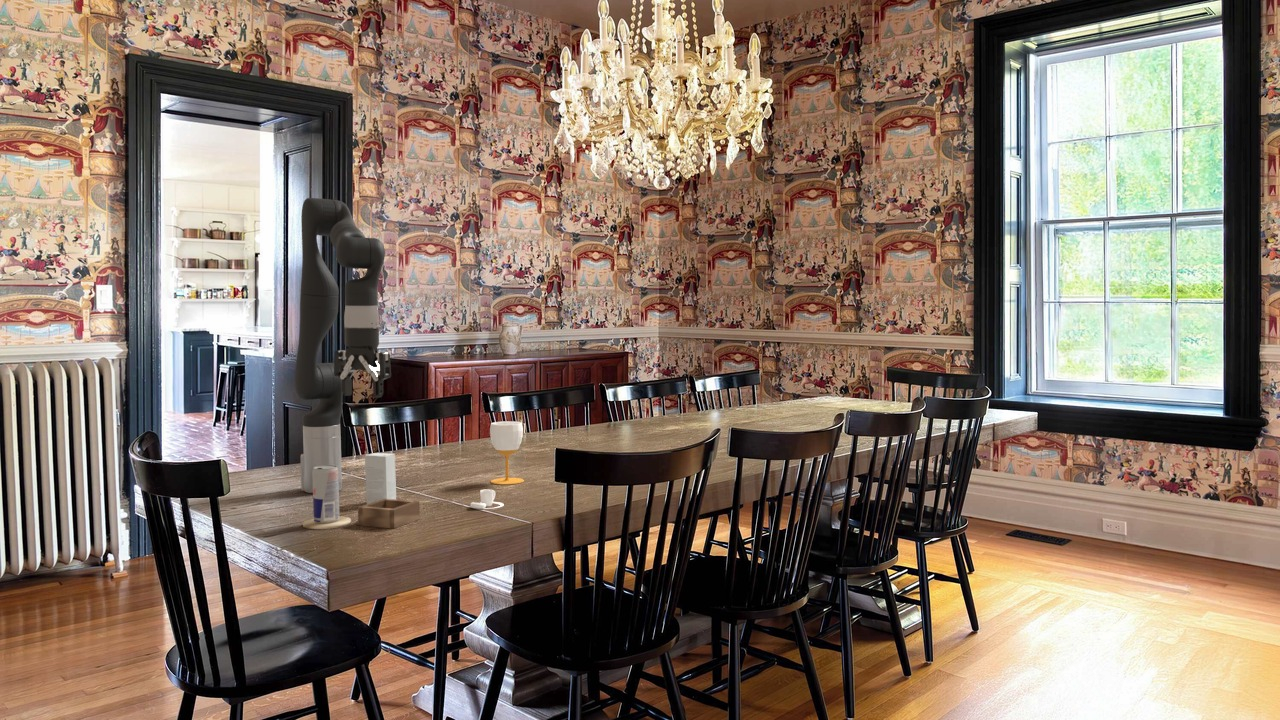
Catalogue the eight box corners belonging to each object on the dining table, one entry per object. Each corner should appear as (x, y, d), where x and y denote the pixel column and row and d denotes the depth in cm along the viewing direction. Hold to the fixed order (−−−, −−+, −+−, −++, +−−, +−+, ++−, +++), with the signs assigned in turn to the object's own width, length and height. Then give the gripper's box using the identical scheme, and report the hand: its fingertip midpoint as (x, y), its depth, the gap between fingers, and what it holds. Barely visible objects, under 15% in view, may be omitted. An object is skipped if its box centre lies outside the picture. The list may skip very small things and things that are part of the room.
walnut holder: (358, 525, 199) (357, 507, 199) (384, 515, 208) (384, 498, 207) (394, 528, 196) (394, 510, 195) (419, 518, 204) (419, 501, 204)
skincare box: (397, 502, 222) (395, 453, 222) (386, 505, 218) (385, 456, 218) (375, 500, 224) (374, 452, 224) (365, 504, 220) (364, 455, 220)
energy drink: (317, 518, 203) (315, 465, 202) (341, 517, 203) (340, 464, 202) (311, 524, 197) (309, 469, 197) (336, 523, 198) (335, 469, 197)
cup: (506, 477, 254) (506, 420, 253) (530, 480, 249) (530, 422, 248) (483, 482, 247) (482, 423, 246) (507, 486, 241) (506, 426, 240)
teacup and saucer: (475, 513, 212) (474, 495, 212) (462, 506, 219) (461, 490, 218) (509, 508, 217) (509, 491, 216) (495, 502, 223) (495, 486, 223)
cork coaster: (292, 527, 197) (292, 524, 197) (324, 517, 207) (324, 514, 207) (330, 530, 194) (330, 528, 194) (360, 520, 203) (360, 517, 203)
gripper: (325, 325, 206) (326, 396, 207) (376, 326, 201) (377, 399, 202) (347, 324, 213) (348, 393, 214) (397, 325, 207) (398, 396, 209)
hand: (362, 396), depth 208 cm, fingers open, 8 cm apart
